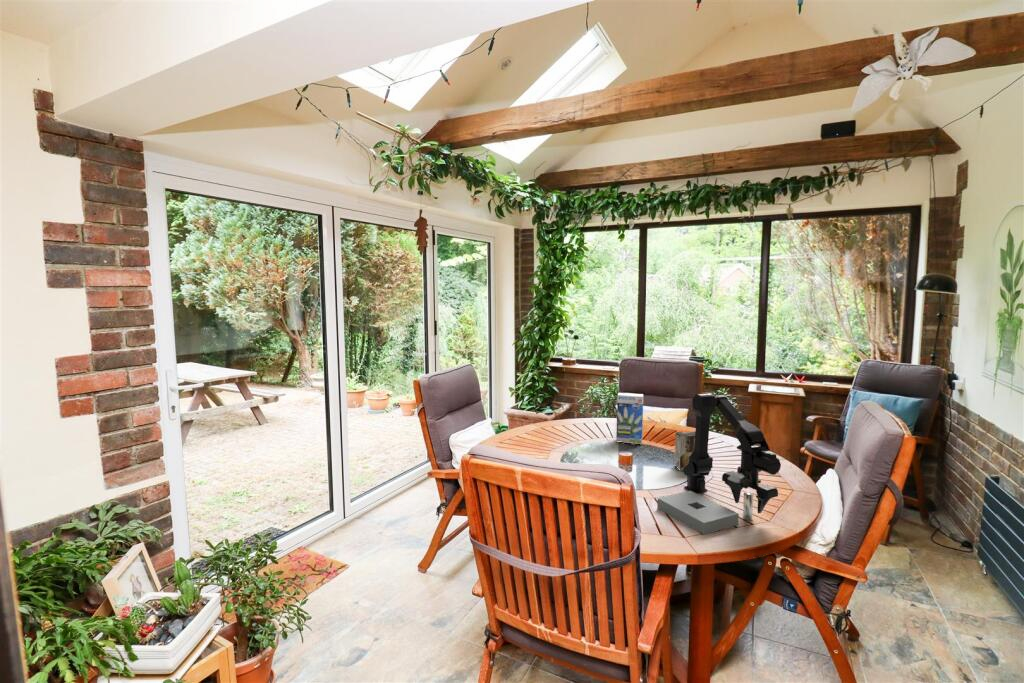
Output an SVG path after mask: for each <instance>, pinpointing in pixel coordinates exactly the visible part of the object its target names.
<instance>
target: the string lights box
mask: <svg viewBox="0 0 1024 683" xmlns="http://www.w3.org/2000/svg"><path fill="white" fill-rule="evenodd" d="M616 405H617V408H616V437H615V438H616V439H615V442H616V441H622V442H633V443H642V444H643V427H644V426H643V422H644V421H643V419H644V393H632V392H618V393H617V404H616Z"/></svg>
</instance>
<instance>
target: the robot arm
mask: <svg viewBox="0 0 1024 683" xmlns="http://www.w3.org/2000/svg"><path fill="white" fill-rule="evenodd" d="M716 409H717V410H718V411H719V412H720V414H721V416H723V417H724V419H725V420H726V421H727V422H728V423H729V424H730V426H731V427H732V428H733V430H734V431H735V432H734V433H735V438H736V439H737V441H738V442H739V443H740V444H739V445H738V446H736V449H738V450H740V451H741V452H740V454H741V455H740V465H739V466H737V471H733V470H732V471H731V470H730V471H726V472H724V473H722V475H721V481H722V482H724V484H725V485H726V486H728V487H729V488H730V491H731V494H732V496H733V500H734V502H735V504H738V503H739V502H740V498H741V492H742V490H743V489H745V490H746V489H748V488H750V489H753V490H755V491H756V492H755V493H756V495H755V497H756V499H757V514H761V513H762V511H764V509H765V507H766V505H767V504H768V502H769V501H770V500H771V499H773V498H777V497H779V490H778V489H777V487H774V486H773V485H769V484H764V485H760V484H761V483H762V480H761V479H760V478H759V475H760V474H759V473H760V472H764V473H767V474H769V475H772V476H774V475H776V474H778V473H779V472H780V470H781V467H782V465H781V464H782V463H781V462H780V459H779V458H777V454H776V453H774V452H770V451H771V449H770V446H769V444H768V442H767V441H766V440H767V439H765V436H764V433H763V431H762V430H761V429H760V428H759V427H757V426H756V425H755V424H752V423H751V422H749V421H747V420H746V419H745V417H743V415H742V414H741V413H740V412H739V411H738V410H737V409H736V407H734V405H733V403H731V402H730V400H729V398H728V396H726V395H724V394H720V395H719V394H717V395H714V394H712V393H709V392H708V393H697V394H695V395H693V397H692V410H693V412H694V414H695V415H696V416H695V417H696V418H695V431H694V432H695V446H694V451H693V453H692V454H691V456H690V458H689V463H688V465H687V466H686V467H684V468H683V475H685V476H687V478H686V479H687V480H686V481H687V482H686V483H687V484H686V485H685V486H683V489H685V490H687V491H692V492H694V493H696V494H700V493H704V492H708V489H707V488H706V477H705V476H710V472H711V471H712V468H713V460H714V459H713V457H712V456H710V454H709V451H708V449H709V439H710V438H709V436H710V434H709V433H710V422H711V419H710V418H711V416H712V414H713V413H714V412H715V410H716Z"/></svg>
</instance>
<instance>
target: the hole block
mask: <svg viewBox="0 0 1024 683" xmlns="http://www.w3.org/2000/svg"><path fill="white" fill-rule="evenodd" d="M656 502H657V503H656V505H657V508H656V509H657V510H659V511H660V512H662V513H664V514H666V515H668V516H670V517H671V518H674V519H675V520H677V521H679V522H680V523H682V524H684V525H686V526H688V527H689V528H691V529H693V530H695V531H696V532H698V533H700V534H701V535H707V534H710V533H711V534H712V533H714V532H717V531H720V530H725V529H728V528H732V527H735V526H738V525H739V516H740V515H739V513H738V512H737V511H734V510H732V509H730V508H728V507H725V506H723V505H722V504H720V503H717V502H715V501H713V500H711V499H709V498H707V497H705V496H703V495H700V493H694V492H692V491H689V490H687V491H683V492H678V493H674V494H669V495H665V496H662V497H661V496H660V497H658V498H657V501H656Z"/></svg>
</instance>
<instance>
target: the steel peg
mask: <svg viewBox="0 0 1024 683" xmlns="http://www.w3.org/2000/svg"><path fill="white" fill-rule="evenodd" d="M742 506H743V507H742V518H744V519H743V520H745V519H746V520H745V521H753V513H754V512H753V510H754V493H752V492H750V491H744V492H743V505H742Z"/></svg>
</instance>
